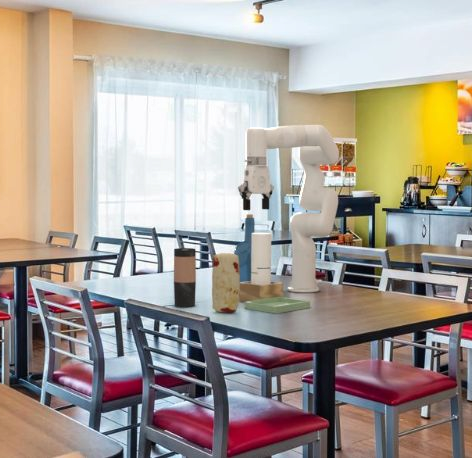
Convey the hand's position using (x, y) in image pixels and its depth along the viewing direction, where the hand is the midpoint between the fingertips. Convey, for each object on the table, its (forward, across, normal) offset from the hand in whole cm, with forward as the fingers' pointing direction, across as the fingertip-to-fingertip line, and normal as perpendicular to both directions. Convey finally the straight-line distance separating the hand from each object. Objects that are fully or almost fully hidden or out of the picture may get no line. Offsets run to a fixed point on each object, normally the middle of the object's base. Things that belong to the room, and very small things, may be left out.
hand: (256, 209), depth 283 cm
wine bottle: (+34, +29, +33) cm, 56 cm away
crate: (+34, +1, -1) cm, 34 cm away
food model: (+34, -24, -9) cm, 42 cm away
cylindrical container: (+34, +1, -1) cm, 34 cm away
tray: (+34, -5, -15) cm, 37 cm away
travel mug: (+34, -25, +11) cm, 43 cm away
